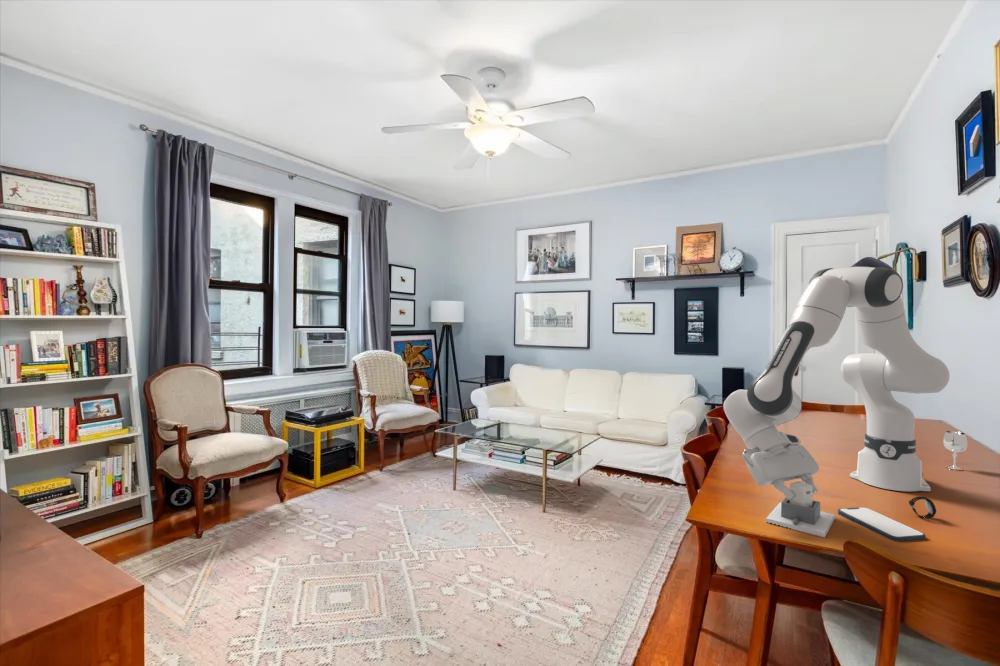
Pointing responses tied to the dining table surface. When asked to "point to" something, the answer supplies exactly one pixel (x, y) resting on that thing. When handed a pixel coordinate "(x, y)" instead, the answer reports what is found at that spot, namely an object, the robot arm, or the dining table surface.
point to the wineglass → (955, 444)
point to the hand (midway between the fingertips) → (803, 495)
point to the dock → (801, 518)
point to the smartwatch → (928, 504)
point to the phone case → (881, 524)
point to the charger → (802, 494)
